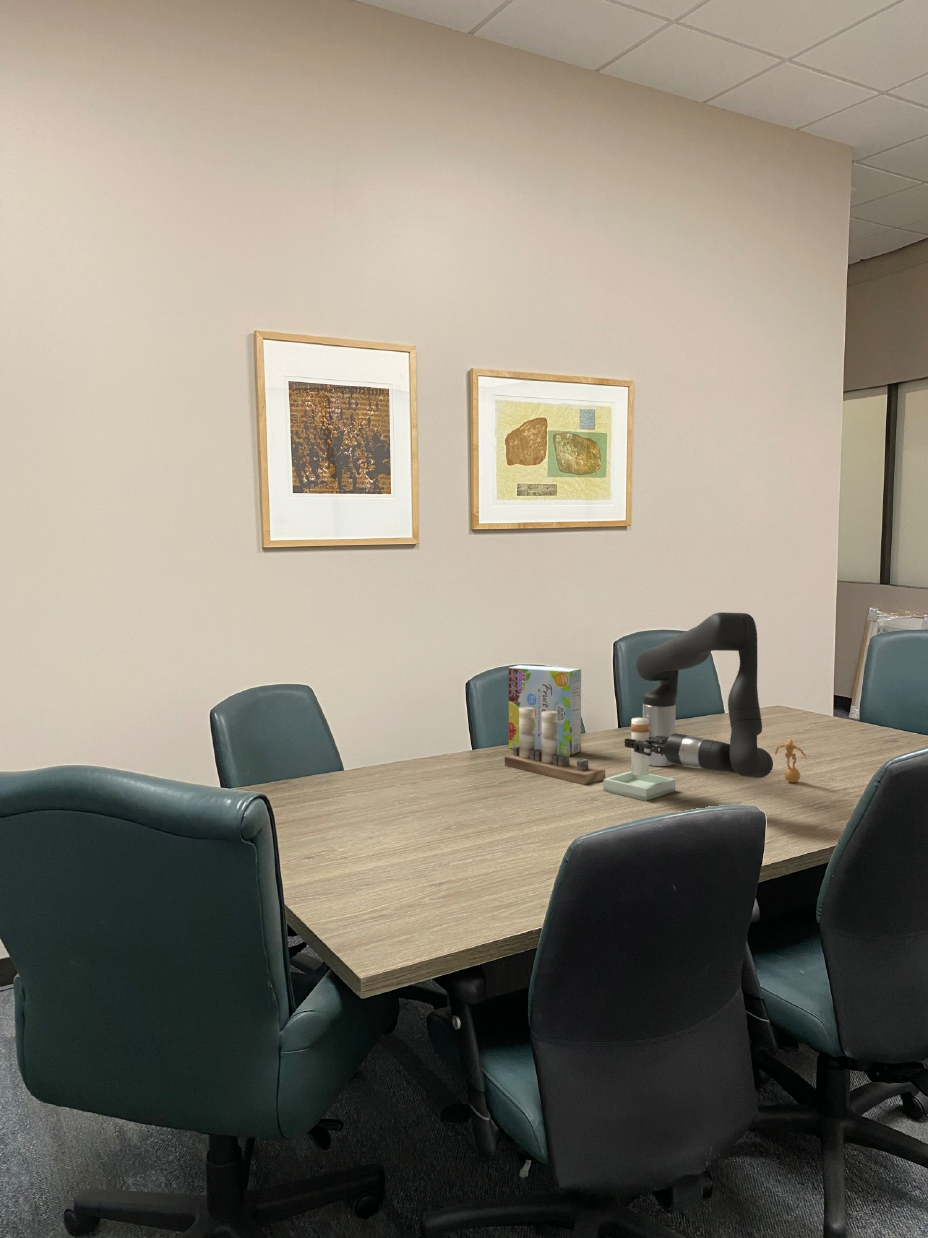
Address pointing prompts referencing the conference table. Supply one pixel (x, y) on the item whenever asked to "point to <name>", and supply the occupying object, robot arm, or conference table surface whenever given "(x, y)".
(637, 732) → the marked fuse
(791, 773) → the figurine
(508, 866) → the conference table surface
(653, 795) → the tray
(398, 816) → the conference table surface
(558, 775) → the rail
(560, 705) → the snack box
